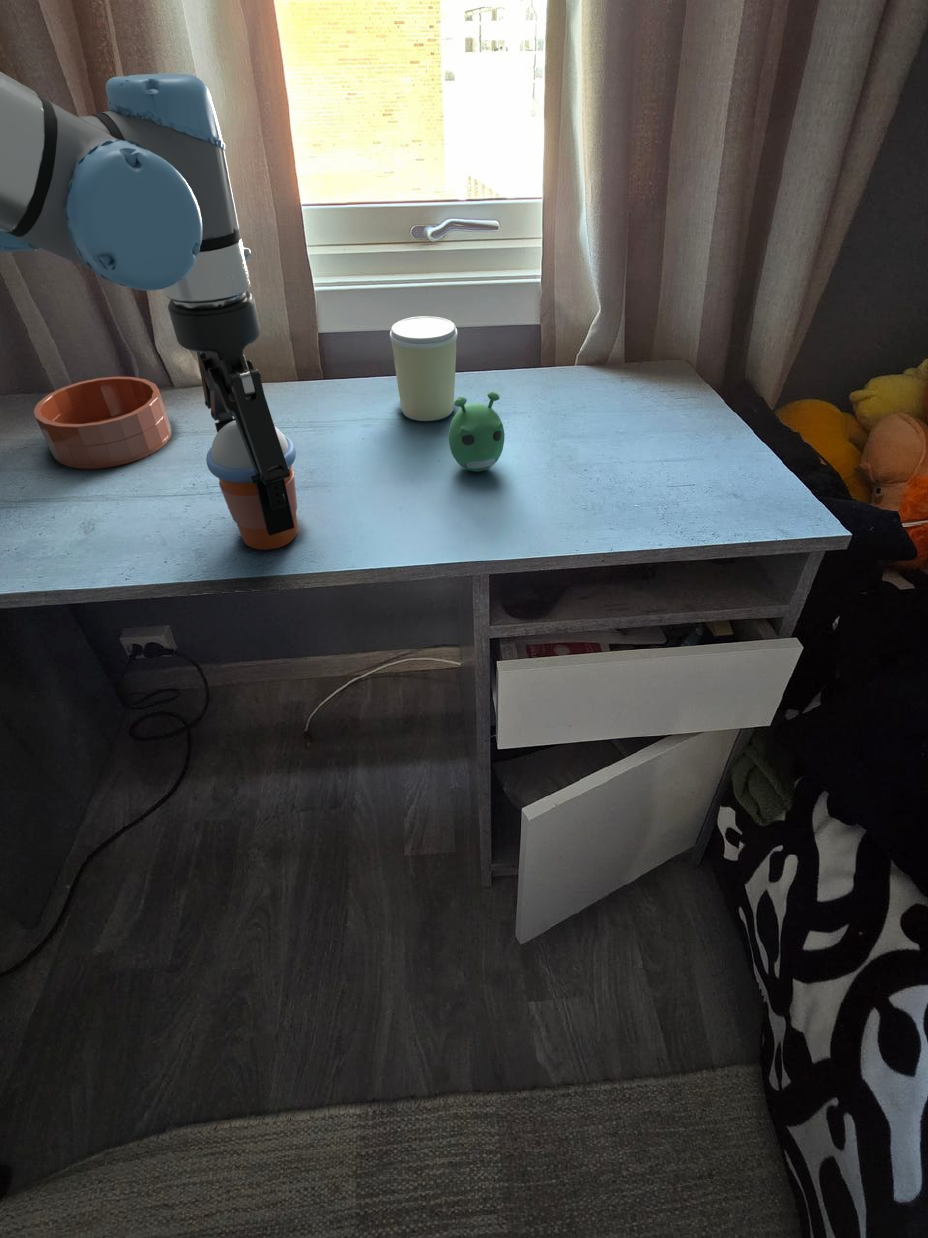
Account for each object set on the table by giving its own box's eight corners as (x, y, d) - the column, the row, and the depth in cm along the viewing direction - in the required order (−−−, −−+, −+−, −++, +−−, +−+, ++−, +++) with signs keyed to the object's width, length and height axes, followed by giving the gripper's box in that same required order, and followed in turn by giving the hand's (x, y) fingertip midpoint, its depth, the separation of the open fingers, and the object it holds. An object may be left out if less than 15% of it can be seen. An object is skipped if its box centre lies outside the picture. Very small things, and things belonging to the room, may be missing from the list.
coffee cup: (429, 390, 107) (425, 310, 99) (471, 408, 102) (471, 325, 94) (383, 410, 102) (375, 327, 94) (425, 430, 97) (421, 344, 89)
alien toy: (459, 488, 86) (457, 412, 79) (443, 459, 91) (441, 386, 84) (512, 480, 87) (515, 404, 80) (494, 451, 92) (495, 379, 86)
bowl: (61, 480, 88) (41, 437, 84) (46, 432, 98) (28, 392, 94) (183, 449, 94) (170, 407, 90) (157, 407, 104) (145, 368, 100)
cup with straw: (325, 536, 78) (298, 382, 66) (253, 569, 74) (209, 410, 62) (286, 504, 83) (254, 356, 71) (216, 532, 79) (169, 379, 67)
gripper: (299, 327, 55) (336, 546, 69) (213, 256, 71) (257, 445, 85) (205, 346, 52) (263, 570, 66) (137, 268, 68) (196, 461, 82)
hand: (260, 500), depth 75 cm, fingers open, 13 cm apart
